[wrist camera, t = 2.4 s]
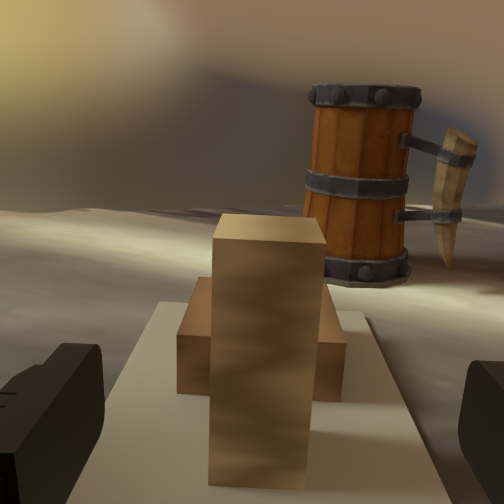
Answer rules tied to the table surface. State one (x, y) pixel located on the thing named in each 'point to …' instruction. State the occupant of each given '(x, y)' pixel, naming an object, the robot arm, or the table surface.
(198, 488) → the build mat
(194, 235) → the table surface
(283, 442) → the maple pillar
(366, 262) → the mug
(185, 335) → the walnut base
